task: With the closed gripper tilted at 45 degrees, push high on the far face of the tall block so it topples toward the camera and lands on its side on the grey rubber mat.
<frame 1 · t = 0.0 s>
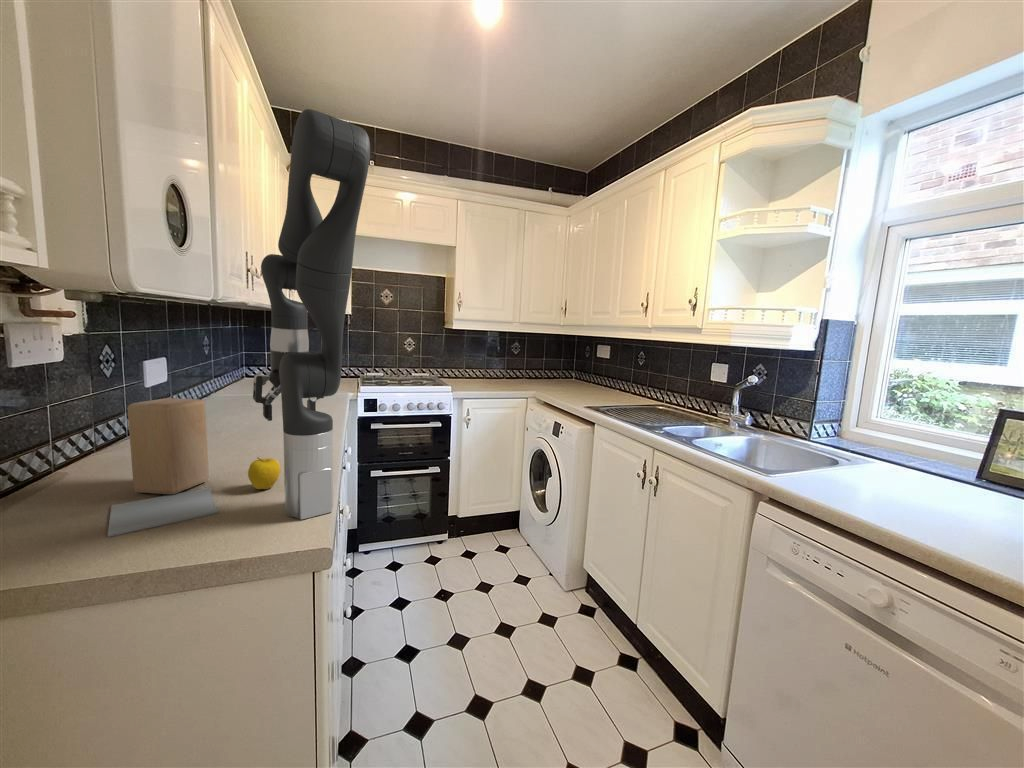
hand: (290, 418, 94), 17 cm above the countertop, tool pointing down, fingers open, 8 cm apart
block: (173, 487, 94), on the countertop, touching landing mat
apple: (264, 489, 96), on the countertop
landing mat: (164, 510, 83), on the countertop
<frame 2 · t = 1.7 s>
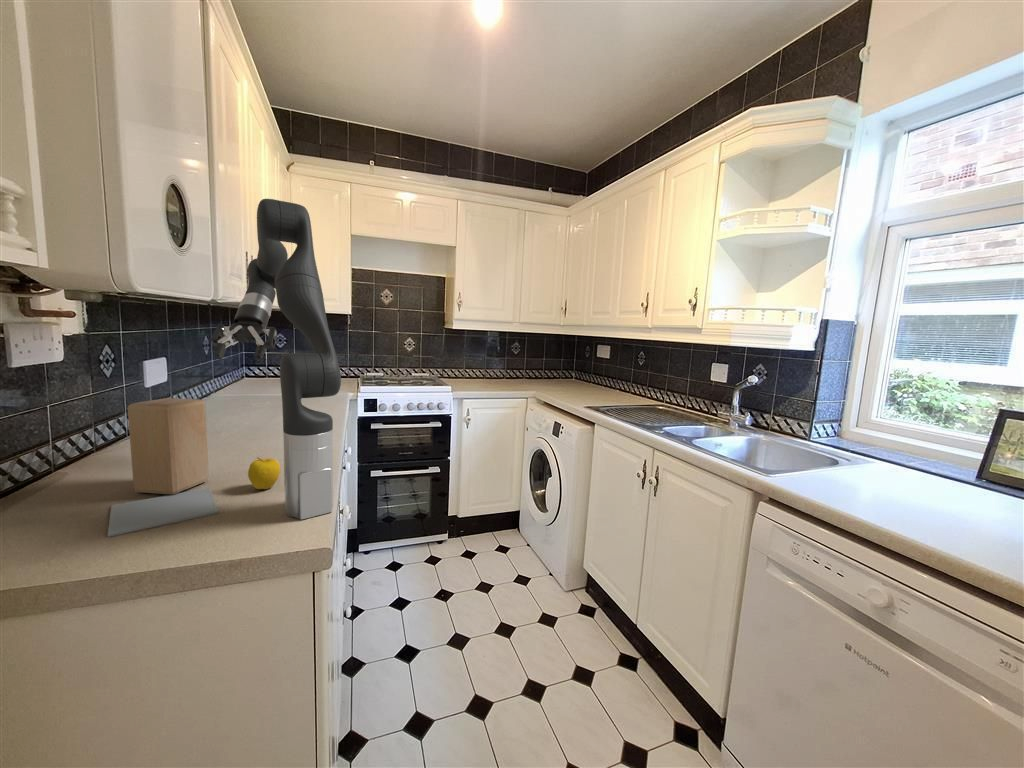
hand: (237, 358, 103), 29 cm above the countertop, tool tilted 45°, fingers open, 8 cm apart
nothing on the countertop moved.
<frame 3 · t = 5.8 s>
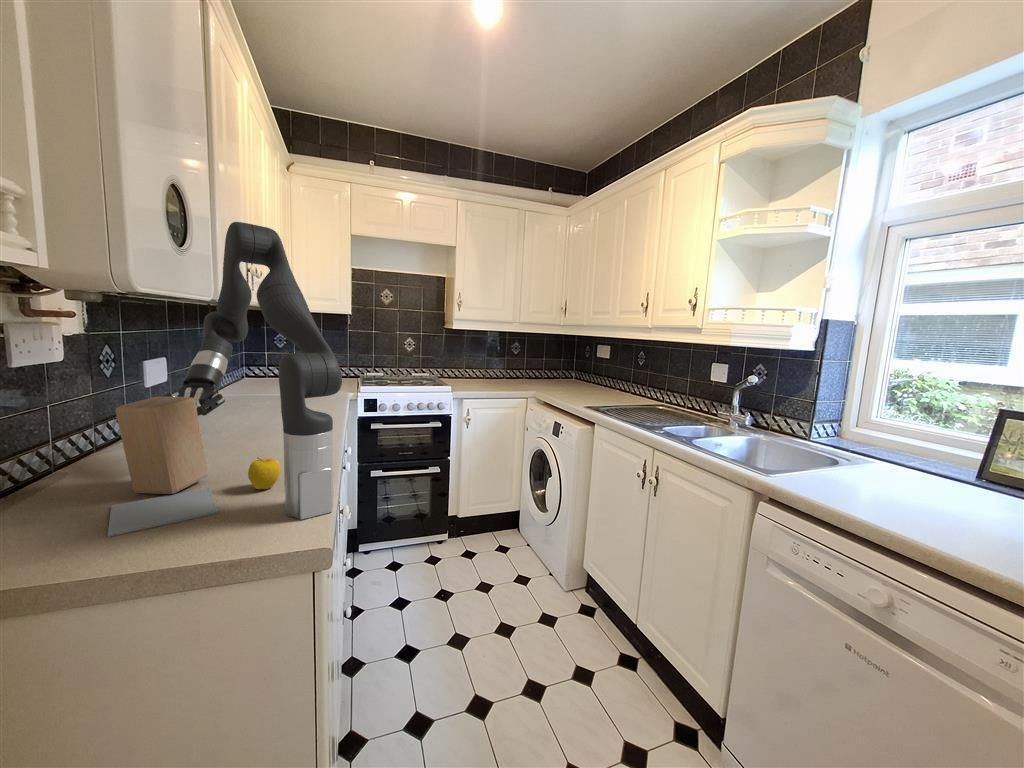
hand: (182, 428, 97), 13 cm above the countertop, tool tilted 45°, fingers closed
block: (173, 485, 94), on the countertop, touching gripper, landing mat
everything else where it was.
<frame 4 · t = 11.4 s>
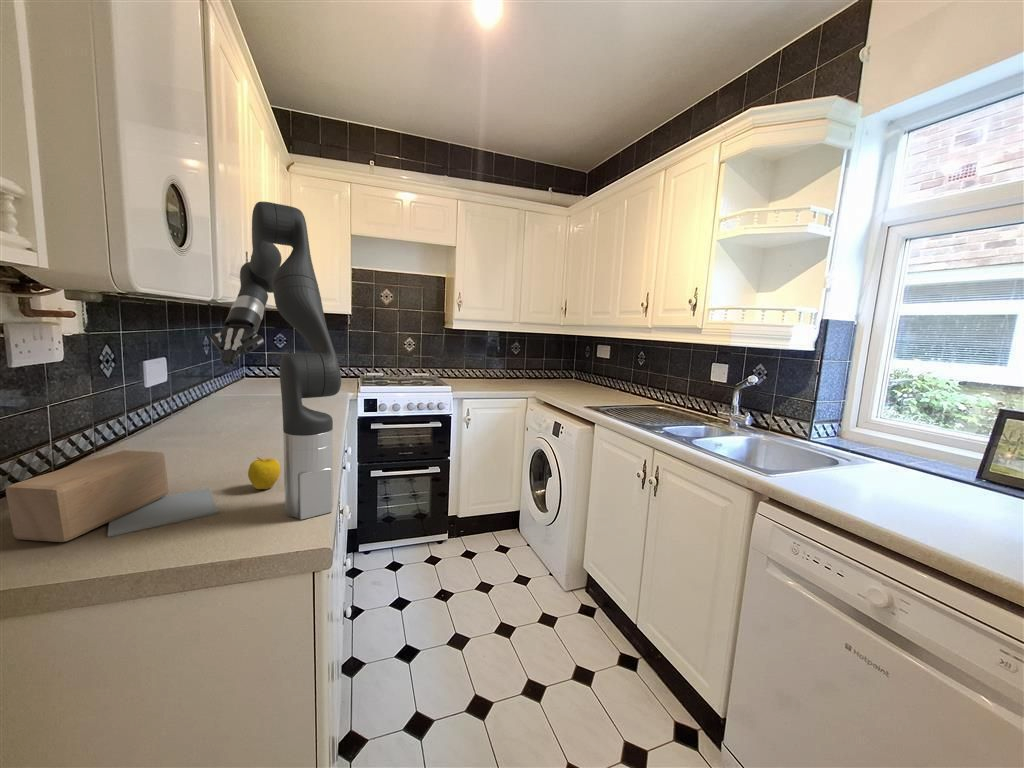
hand: (227, 364, 102), 28 cm above the countertop, tool tilted 45°, fingers closed
block: (148, 471, 88), point 6 cm above the countertop, touching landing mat
everything else where it was.
at the end: block tilted 92°; block inside the target area (3.3 cm from its centre), point 5.6 cm above the countertop; apple moved 0.2 cm from its start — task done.
